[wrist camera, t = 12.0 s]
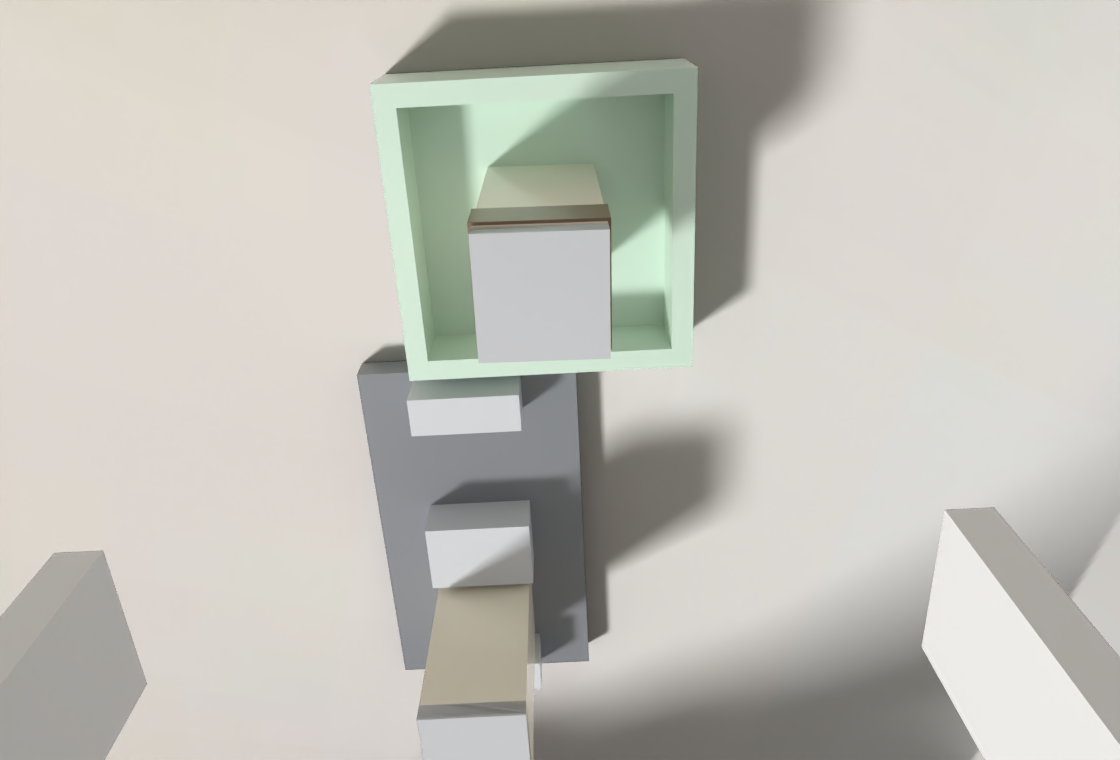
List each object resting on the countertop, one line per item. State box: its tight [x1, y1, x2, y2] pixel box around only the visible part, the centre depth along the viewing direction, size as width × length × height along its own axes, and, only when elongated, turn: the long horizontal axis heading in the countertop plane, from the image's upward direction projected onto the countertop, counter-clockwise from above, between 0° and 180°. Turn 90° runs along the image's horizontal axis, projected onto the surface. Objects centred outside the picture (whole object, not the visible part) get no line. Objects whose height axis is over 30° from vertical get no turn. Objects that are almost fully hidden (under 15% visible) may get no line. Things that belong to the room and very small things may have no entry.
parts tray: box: [369, 58, 698, 381], centre depth 33 cm, size 11×11×3 cm
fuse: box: [417, 583, 535, 760], centre depth 37 cm, size 4×4×9 cm
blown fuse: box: [467, 163, 612, 363], centre depth 30 cm, size 4×4×9 cm
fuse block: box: [357, 361, 589, 690], centre depth 39 cm, size 16×9×3 cm, turn 3°
